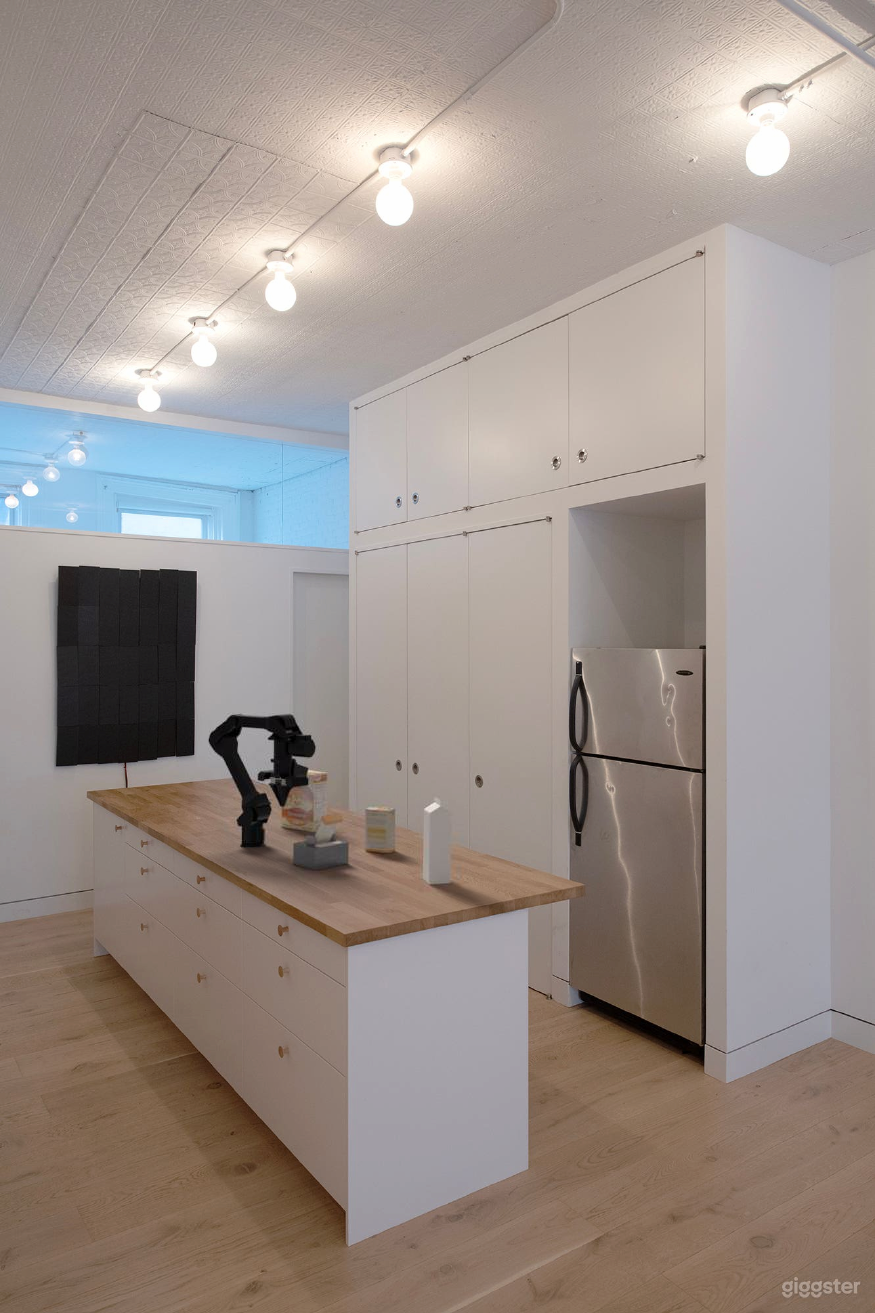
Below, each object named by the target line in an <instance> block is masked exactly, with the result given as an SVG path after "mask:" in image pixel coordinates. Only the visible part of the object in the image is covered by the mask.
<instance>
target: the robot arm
mask: <svg viewBox="0 0 875 1313" xmlns="http://www.w3.org/2000/svg"><path fill="white" fill-rule="evenodd" d="M243 728H249V729H261V730H262V729H263V730H266V731H267V732H269V733H272V734H271V735H269V737H268V738H267V741H273V758H270V763H273V768H272V769H270V770H261V771H259V772H258V773H257V781H260V782H265V781H266V780H270V783H268V786H270V788H271V790H272V792H273V793H274V797H275V798H276V800H277V802H278V805H279V806H280V807H281V808H282V807H284V806H285V804H286V801H287V798H288V795H289V793H290V790H291V789H292V788H293V787H298V786H306V785H309V779H308V777H307V772H308V770H309V767H307V766H304V765H301V764H298V762H297V760H296V758H293V757H297V758H307V759H308V758H309V759H310V758H312V757H313V756H314V755H315V753H316V749H317V746H316V744H315V741H314V739H312V735H311V734H304V733H303V731H302V730H301V728H300V726H299V725H298V723H297V721H296V718H295V717H294V715H293V714H291V713H287V714H286V713H285V714H276V715H269V716H267V715H266V716H263V715H249V714H248V715H247V714H242V713H238V714H230V716H229V715H228V717H227V719H225V721H223V722H222V723H221V724H219V725H218V726H217V727H216V728H215V729H214V730H212V731H211V732H210V734H209V736H208V739H207V740H208V743H209V746H210V747H211V749H212V750H213V752H214V753H215V754H217V755H218V756H219V757H221V758H222V759H223V762H224V764H225V766H226V767H227V769H228V771H229V773H230V776H231V778H232V780H233V782H234V783H235V786H236V788H237V790H238V792H239V795H240V796H241V811H242V813H241V814H240V815H239V816H238V817H237V818H236V824H237V827H240V828H241V843H240V847H262V846H263V845H264V843H265V842H266V828H264V824H268V821H269V818H270V816H271V813H272V806H271V805H272V802H271V801H270V800H269V797H268V795H267V794H266V792H261V793H260V792H259V791H258V790H257V789H256V786H255V784H254V783H253V780H252V778H251V776H250V774H249V772H248V770H247V767H246V766H245V764H244V762H243V760H242V758H241V755H240V754H239V750H238V749H239V741H238V737H239V736H240V735H241V733H242V730H243Z"/></svg>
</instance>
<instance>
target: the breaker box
mask: <svg viewBox="0 0 875 1313" xmlns="http://www.w3.org/2000/svg"><path fill="white" fill-rule="evenodd" d="M349 844H350V842H348V841H344V840H340V839H337V833H336V832H334V833H333V835H332V837H331V839H330V841H326V842H320V843H315V837H314V835H313V836H312V835H306V836H305V840H303V841H299V842H293V847H292V849H293V851H292V852H293V854H292V855H293V856H292V860H293V861H292V864H293V865H294V864H296V865H295V866H297V865H298V866H299V867H301V866H302V868H304V867H305V868H306V869H308V868H309V869H308V870H311V869H312V871H314V870H316V871H320V870H324V868H325V869H330V868H334V867H333V866H335V867H338V866H344V865H348V864H349V848H350V847H349V846H350V845H349ZM343 864H344V865H343ZM298 866H297V867H298ZM305 868H304V869H305Z"/></svg>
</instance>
